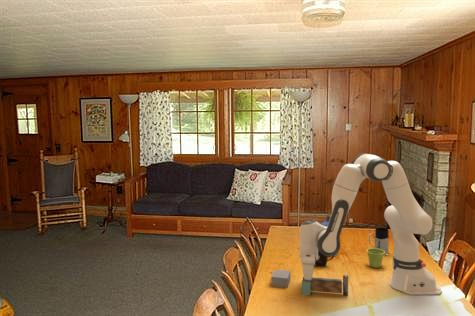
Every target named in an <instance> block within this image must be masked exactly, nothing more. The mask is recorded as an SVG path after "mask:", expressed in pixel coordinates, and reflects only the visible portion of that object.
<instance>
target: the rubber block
mask: <svg viewBox="0 0 475 316" xmlns="http://www.w3.org/2000/svg"><path fill="white" fill-rule="evenodd" d="M290 282H291V270H288V269H287V270H286V269H274V271H273V273H272V275H271V287H275V286H278V287H279V288H284V287H287V289H288V288H289V285H290ZM278 287H277V288H278Z"/></svg>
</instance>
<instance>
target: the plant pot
mask: <svg viewBox="0 0 475 316" xmlns="http://www.w3.org/2000/svg"><path fill="white" fill-rule="evenodd" d="M366 252H367V255H368V262H369V267H371V268H373V267H374V268H375V269H379V268H381V267H382V264H383V257H384V256H383V255H384V253H385V251H383V250H381V249H376V248H375V247H374V248H373V247H370V248H368V249H366Z"/></svg>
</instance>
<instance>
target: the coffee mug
mask: <svg viewBox="0 0 475 316" xmlns="http://www.w3.org/2000/svg"><path fill="white" fill-rule="evenodd" d="M334 257H335V256H332V257H330V258H329V259H328V257H327V256H325V255H323V254H321V253H320V252H319V250H318V259H317V260H316V262H315V264H314V266H316V267H320V268H323V267H327V263H328V262H330V261H331V260H333V259H334Z"/></svg>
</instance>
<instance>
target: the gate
mask: <svg viewBox="0 0 475 316" xmlns="http://www.w3.org/2000/svg"><path fill="white" fill-rule="evenodd" d="M302 280H304V276H302ZM307 281H311V292H320V293H333V294H343V279H340V278H339V279H338V278H325V277H324V278H323V277H313V276H312V280H307Z"/></svg>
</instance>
